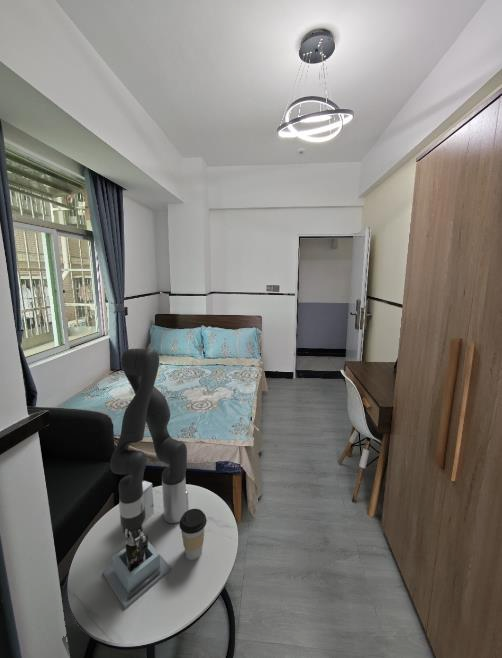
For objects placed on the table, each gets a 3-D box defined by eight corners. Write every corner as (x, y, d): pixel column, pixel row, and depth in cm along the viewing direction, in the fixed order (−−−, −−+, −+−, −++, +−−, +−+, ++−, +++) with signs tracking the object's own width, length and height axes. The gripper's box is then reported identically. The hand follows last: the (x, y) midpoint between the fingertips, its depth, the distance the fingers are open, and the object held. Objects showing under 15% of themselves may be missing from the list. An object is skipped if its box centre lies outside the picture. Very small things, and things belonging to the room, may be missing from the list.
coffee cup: (175, 554, 105) (173, 518, 102) (196, 536, 112) (194, 502, 109) (192, 571, 99) (190, 533, 96) (212, 551, 106) (212, 516, 103)
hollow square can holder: (146, 541, 109) (145, 526, 108) (171, 569, 99) (170, 553, 98) (102, 573, 98) (101, 557, 97) (125, 609, 87) (123, 591, 86)
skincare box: (140, 529, 115) (137, 496, 112) (128, 524, 117) (126, 492, 114) (154, 514, 122) (153, 482, 120) (143, 509, 125) (141, 478, 122)
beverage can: (127, 580, 95) (124, 548, 92) (128, 563, 100) (125, 533, 98) (146, 574, 96) (143, 543, 94) (146, 558, 102) (144, 529, 100)
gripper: (154, 512, 92) (157, 557, 95) (132, 490, 101) (136, 532, 104) (131, 527, 87) (135, 574, 90) (110, 503, 96) (115, 546, 99)
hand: (135, 551), depth 97 cm, fingers open, 6 cm apart
